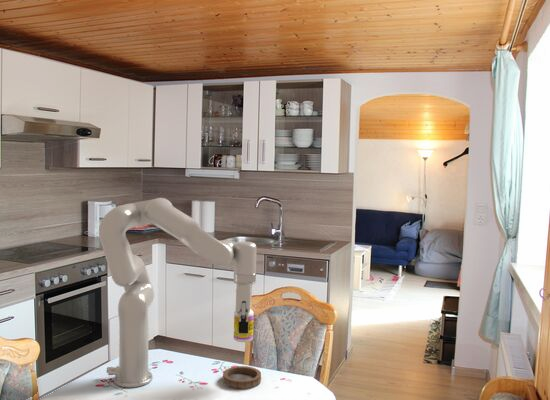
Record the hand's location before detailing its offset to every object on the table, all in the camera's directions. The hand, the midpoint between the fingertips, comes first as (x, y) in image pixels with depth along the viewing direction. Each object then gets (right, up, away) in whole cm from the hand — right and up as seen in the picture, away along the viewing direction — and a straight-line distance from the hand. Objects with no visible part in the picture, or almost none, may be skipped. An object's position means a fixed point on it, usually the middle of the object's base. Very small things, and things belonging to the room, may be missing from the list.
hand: (243, 329), depth 171 cm
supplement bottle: (0, -4, 0) cm, 4 cm away
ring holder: (-1, -18, +1) cm, 18 cm away
